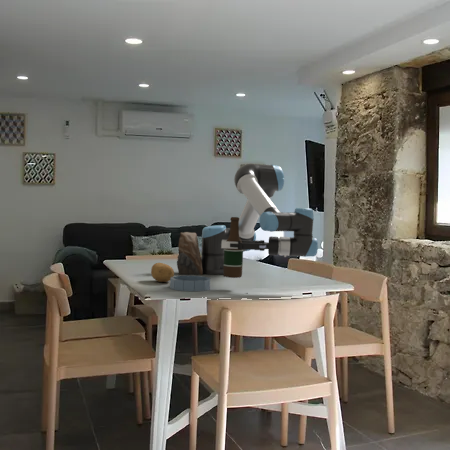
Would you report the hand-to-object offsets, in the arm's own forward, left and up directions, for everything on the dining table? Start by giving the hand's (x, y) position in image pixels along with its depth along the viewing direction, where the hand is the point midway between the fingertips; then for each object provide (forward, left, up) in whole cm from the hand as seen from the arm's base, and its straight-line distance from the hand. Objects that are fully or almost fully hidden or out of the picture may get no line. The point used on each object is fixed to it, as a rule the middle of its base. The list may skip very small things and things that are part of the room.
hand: (221, 243), depth 231 cm
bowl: (0, -12, -18) cm, 22 cm away
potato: (-14, -25, -19) cm, 34 cm away
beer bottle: (0, +5, -13) cm, 14 cm away
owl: (-46, -16, -19) cm, 52 cm away
